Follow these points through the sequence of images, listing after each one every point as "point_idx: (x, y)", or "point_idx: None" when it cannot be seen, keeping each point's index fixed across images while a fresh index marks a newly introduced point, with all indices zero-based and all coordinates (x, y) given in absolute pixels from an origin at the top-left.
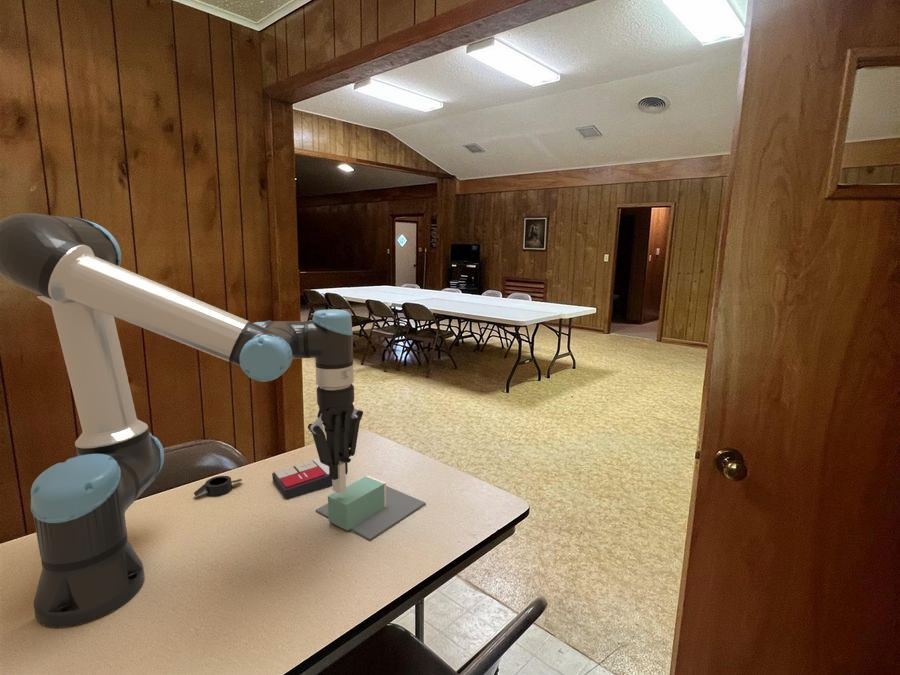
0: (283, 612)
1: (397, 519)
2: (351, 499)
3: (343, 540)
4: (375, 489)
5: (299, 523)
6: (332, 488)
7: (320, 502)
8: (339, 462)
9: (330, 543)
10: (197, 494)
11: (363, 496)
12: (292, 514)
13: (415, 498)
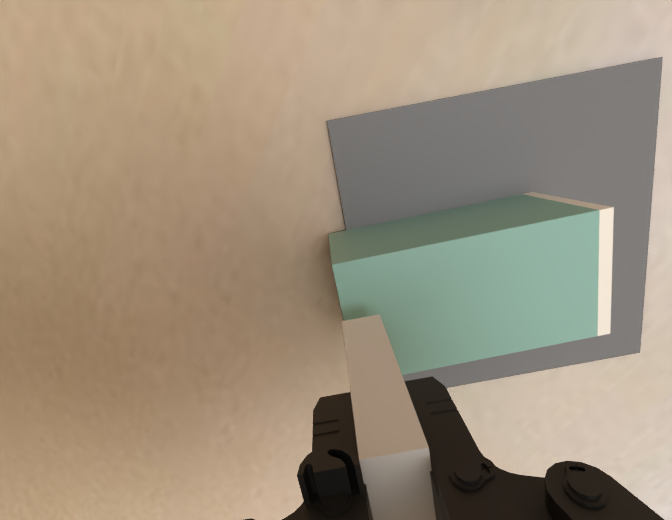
0: (76, 483)
1: (503, 372)
2: (399, 361)
3: (317, 346)
4: (534, 346)
5: (240, 158)
6: (342, 326)
7: (379, 61)
8: (411, 506)
9: (278, 334)
10: None
11: (457, 360)
12: (241, 70)
13: (642, 310)
